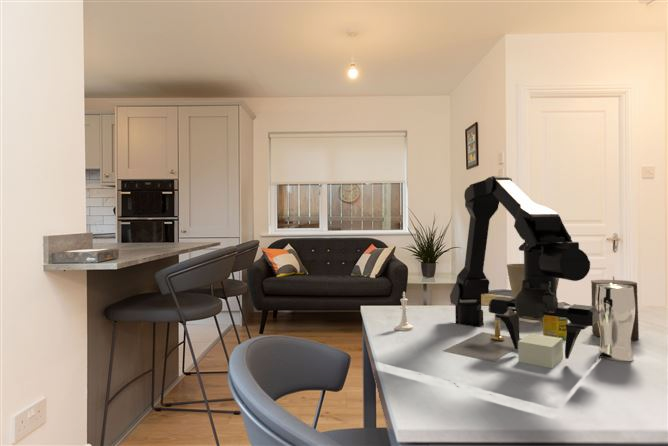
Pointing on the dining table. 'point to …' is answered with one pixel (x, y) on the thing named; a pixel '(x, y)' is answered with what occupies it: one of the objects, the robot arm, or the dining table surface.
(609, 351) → the silver metal tumbler
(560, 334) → the supplement bottle
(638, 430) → the dining table surface
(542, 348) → the cover
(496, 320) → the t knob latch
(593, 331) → the pillar candle
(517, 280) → the plant pot
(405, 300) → the chess piece
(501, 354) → the base
